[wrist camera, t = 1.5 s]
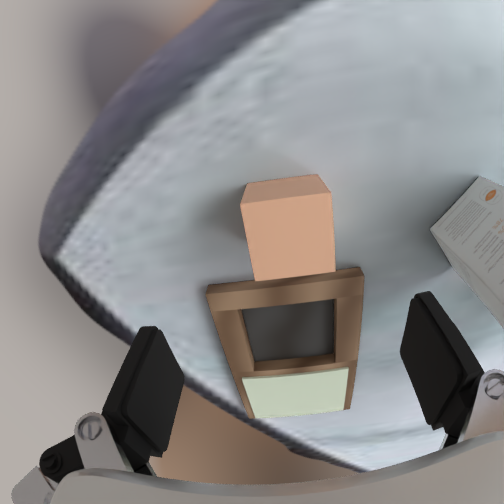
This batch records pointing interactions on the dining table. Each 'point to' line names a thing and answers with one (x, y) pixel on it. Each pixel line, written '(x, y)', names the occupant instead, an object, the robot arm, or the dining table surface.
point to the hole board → (291, 340)
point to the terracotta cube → (289, 227)
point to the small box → (477, 242)
